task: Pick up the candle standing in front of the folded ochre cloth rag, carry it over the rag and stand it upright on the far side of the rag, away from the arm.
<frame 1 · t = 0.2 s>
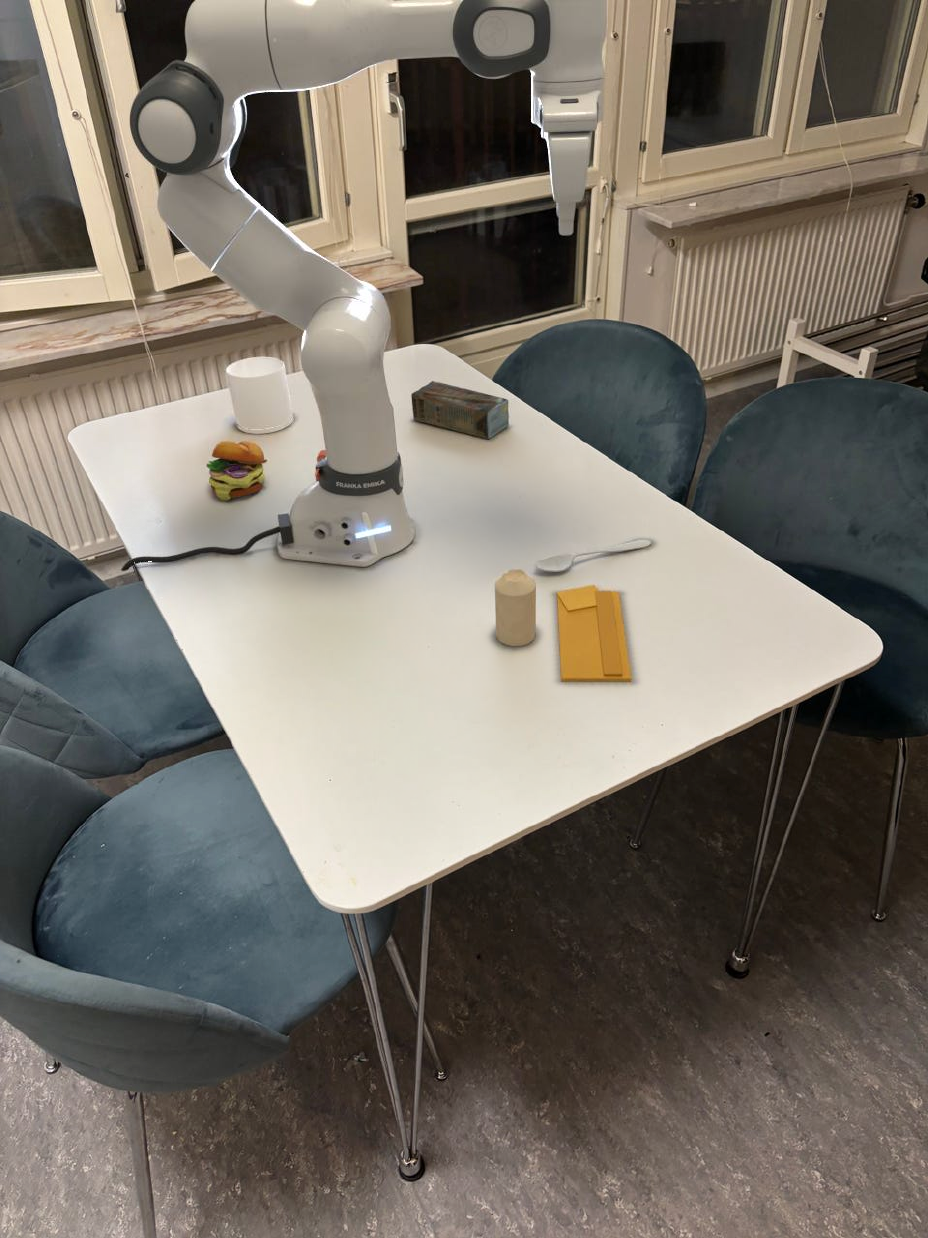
hand: (564, 224, 120), 48 cm above the table, tool pointing down, fingers open, 8 cm apart
cup: (265, 423, 190), on the table
beverage carton: (460, 424, 185), on the table
spoon: (593, 558, 142), on the table
cheeseburger: (239, 488, 166), on the table
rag: (591, 634, 126), on the table
candle: (515, 636, 127), on the table
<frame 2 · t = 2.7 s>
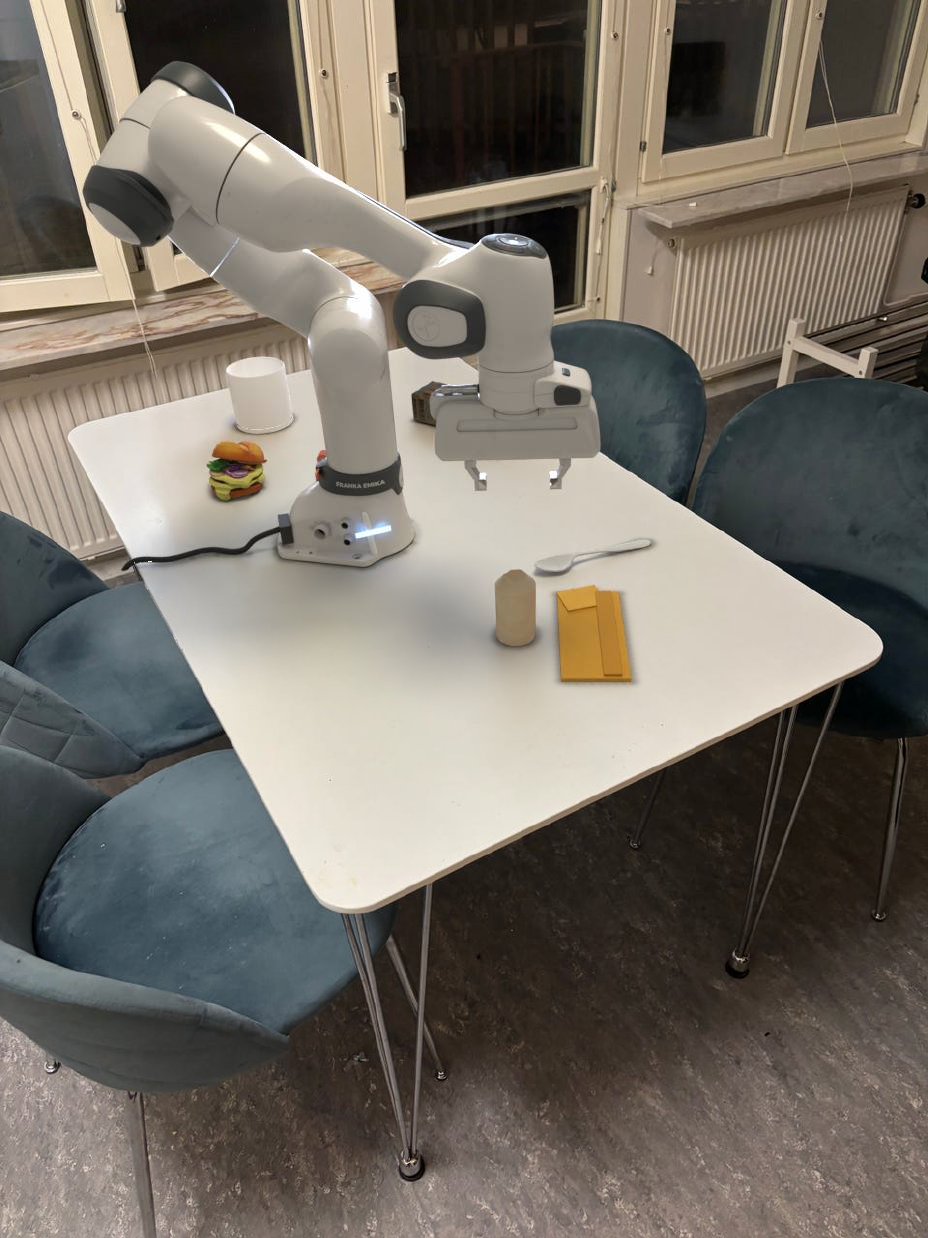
hand: (518, 488, 115), 22 cm above the table, tool pointing down, fingers open, 8 cm apart
nothing on the table moved.
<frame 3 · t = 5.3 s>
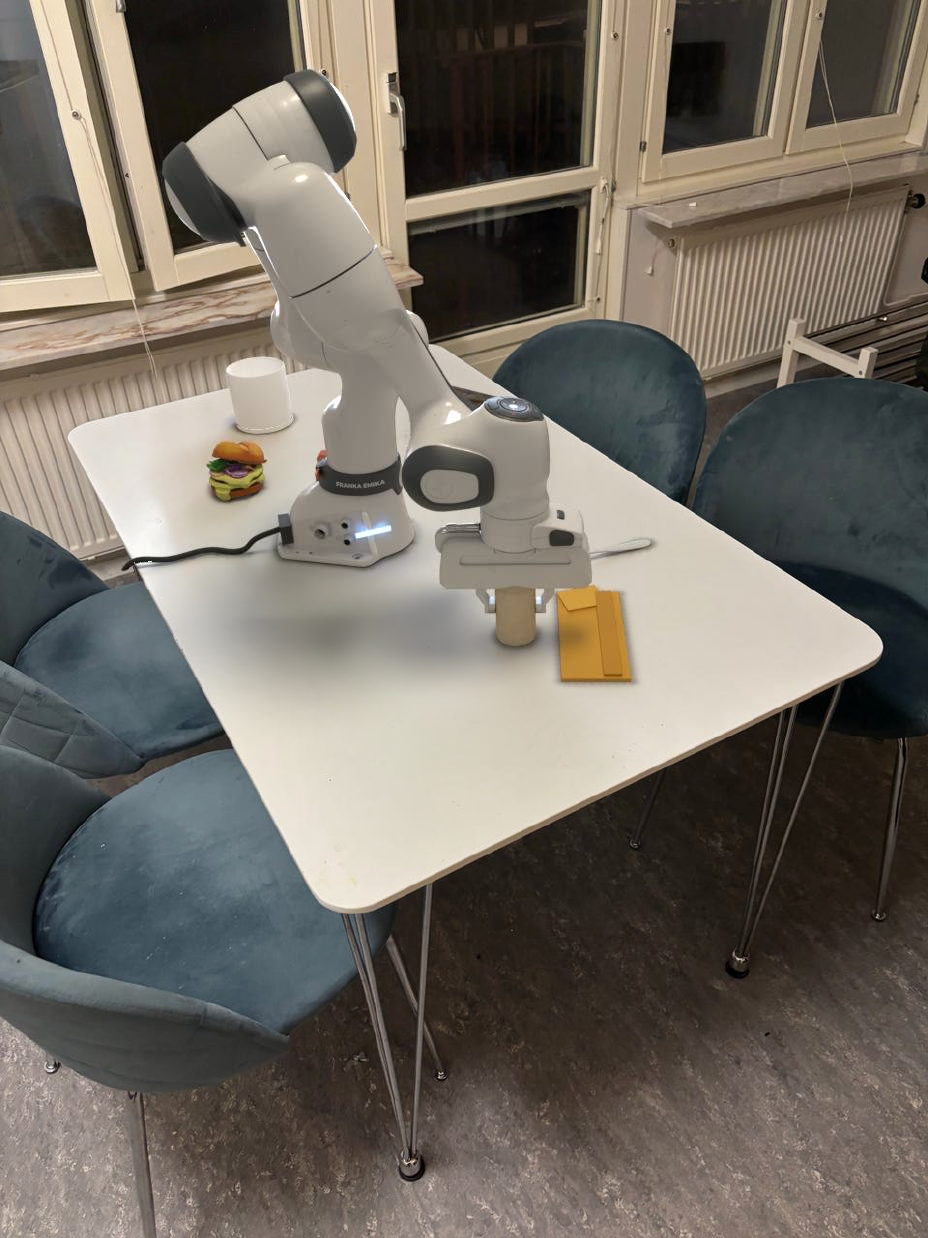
hand: (515, 611, 124), 4 cm above the table, tool pointing down, fingers closed on candle, 5 cm apart
candle: (515, 635, 127), on the table, touching gripper
everything else where it was.
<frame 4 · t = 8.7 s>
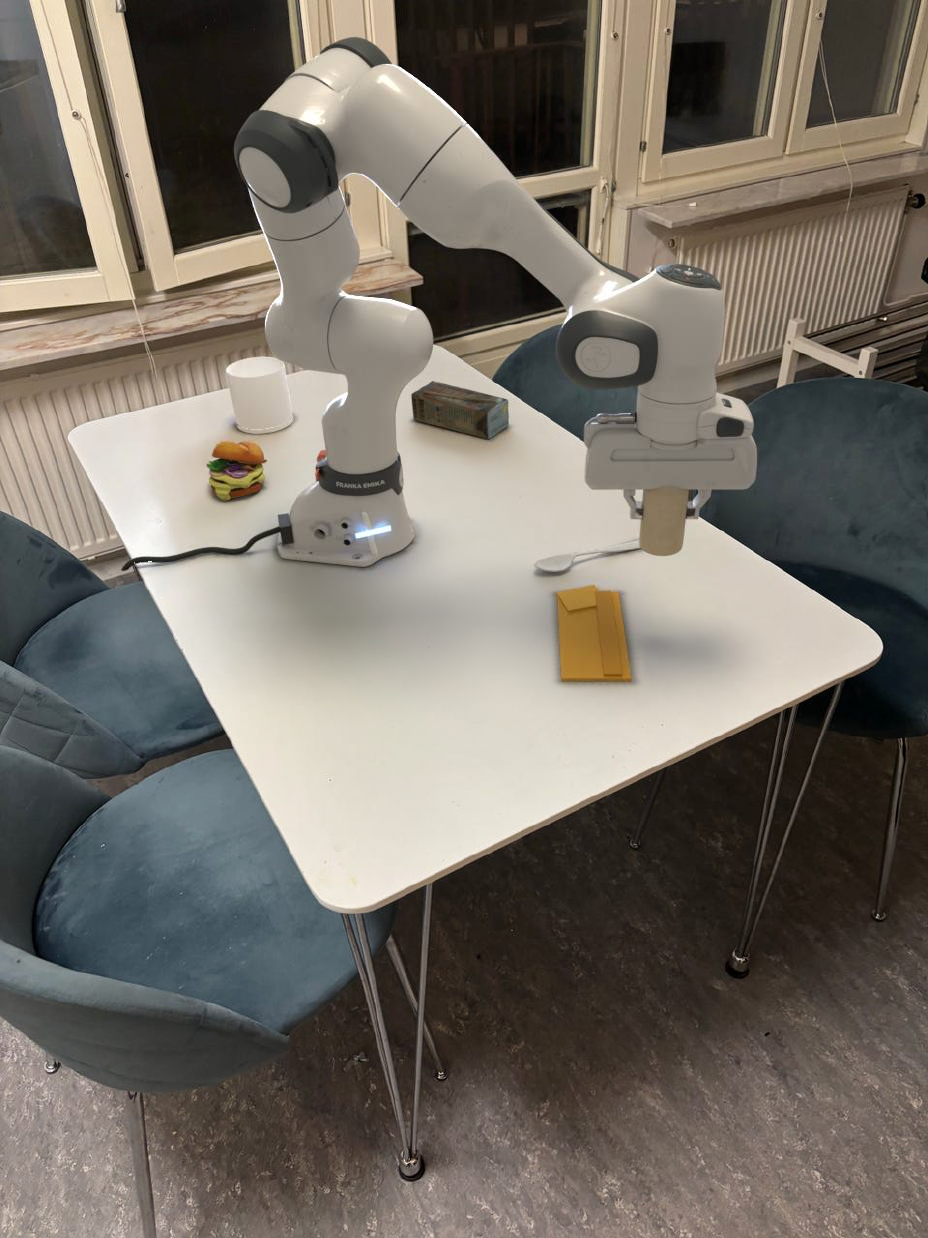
hand: (663, 517, 113), 19 cm above the table, tool pointing down, fingers closed on candle, 5 cm apart
candle: (660, 546, 116), point 15 cm above the table, touching gripper
everything else where it was.
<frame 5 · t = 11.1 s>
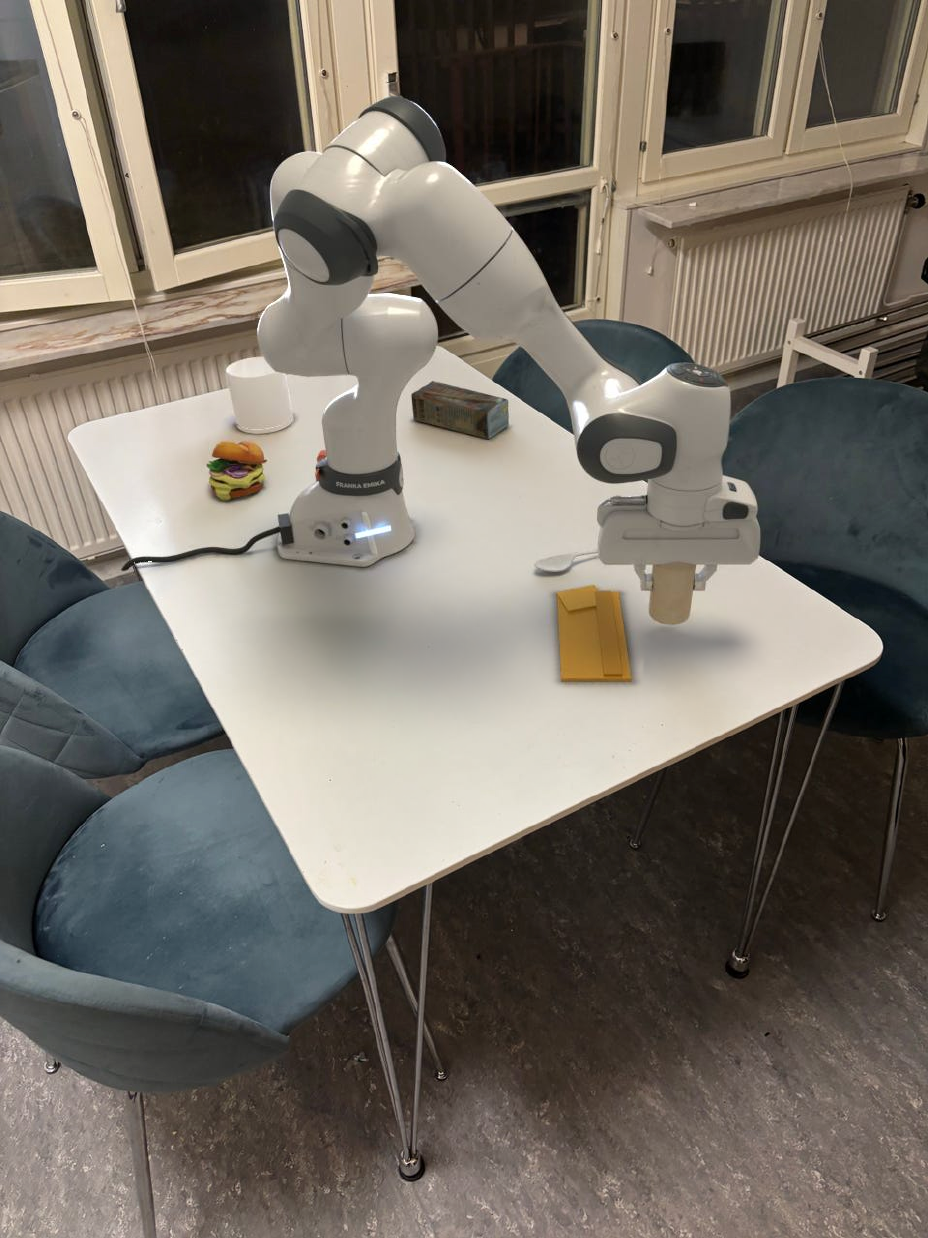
hand: (672, 588, 120), 8 cm above the table, tool pointing down, fingers closed on candle, 5 cm apart
candle: (668, 614, 123), point 4 cm above the table, touching gripper
everything else where it was.
when the fingers open (4 cm above the table, at t = 12.6 s): candle stays where it is, on the table.
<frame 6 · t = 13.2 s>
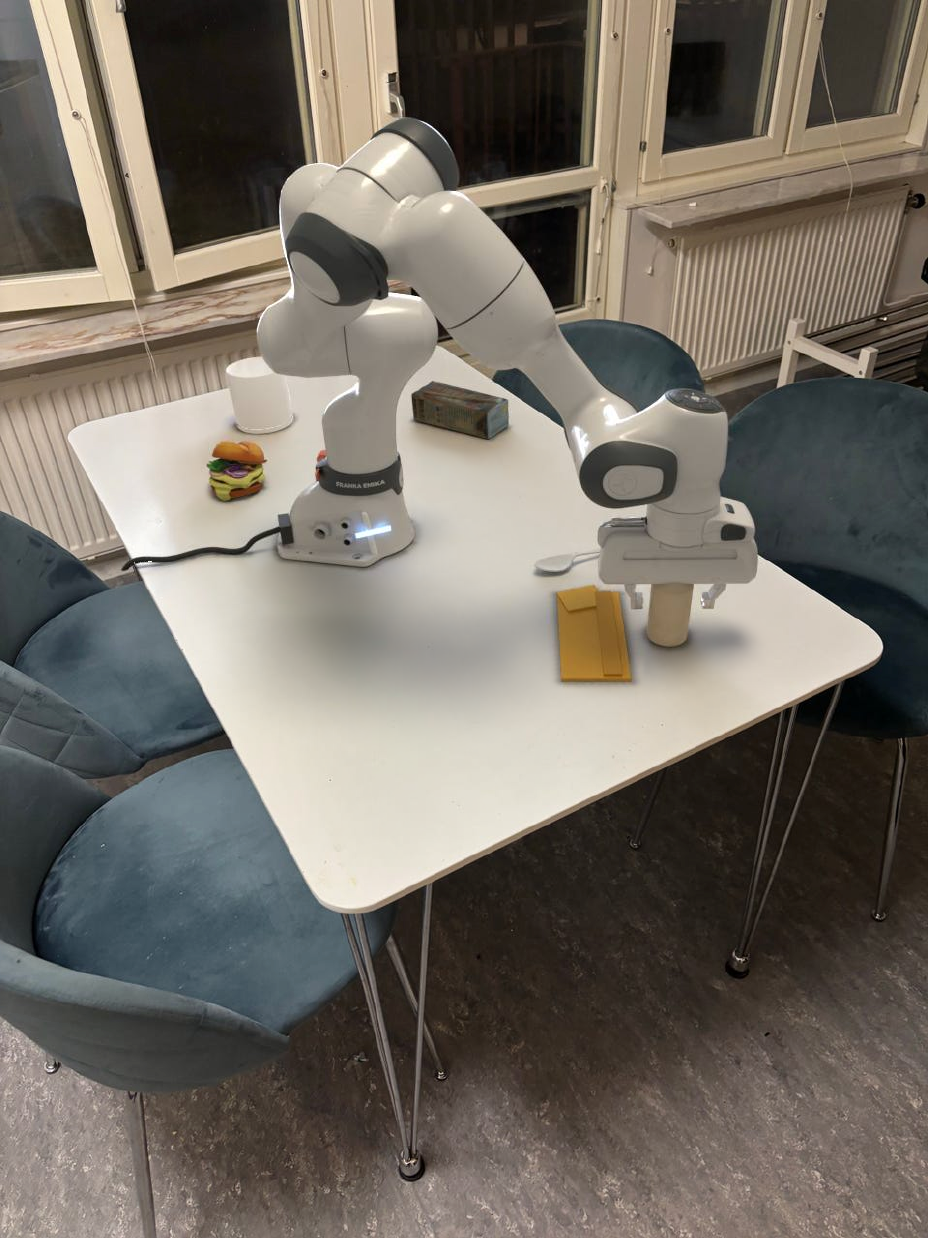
hand: (671, 606, 122), 5 cm above the table, tool pointing down, fingers open, 8 cm apart
candle: (666, 636, 125), on the table
everything else where it was.
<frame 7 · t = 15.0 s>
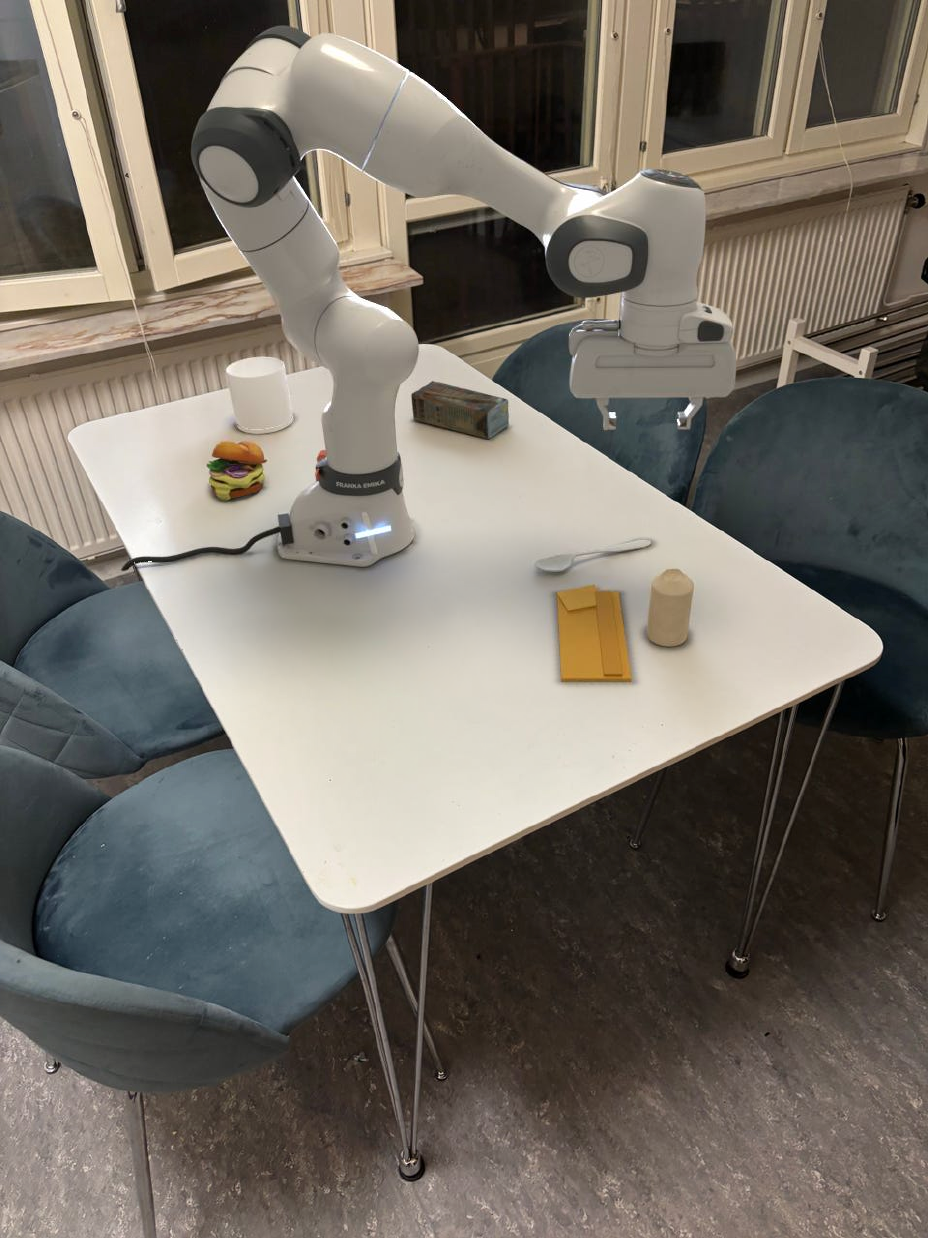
hand: (646, 427, 117), 27 cm above the table, tool pointing down, fingers open, 8 cm apart
nothing on the table moved.
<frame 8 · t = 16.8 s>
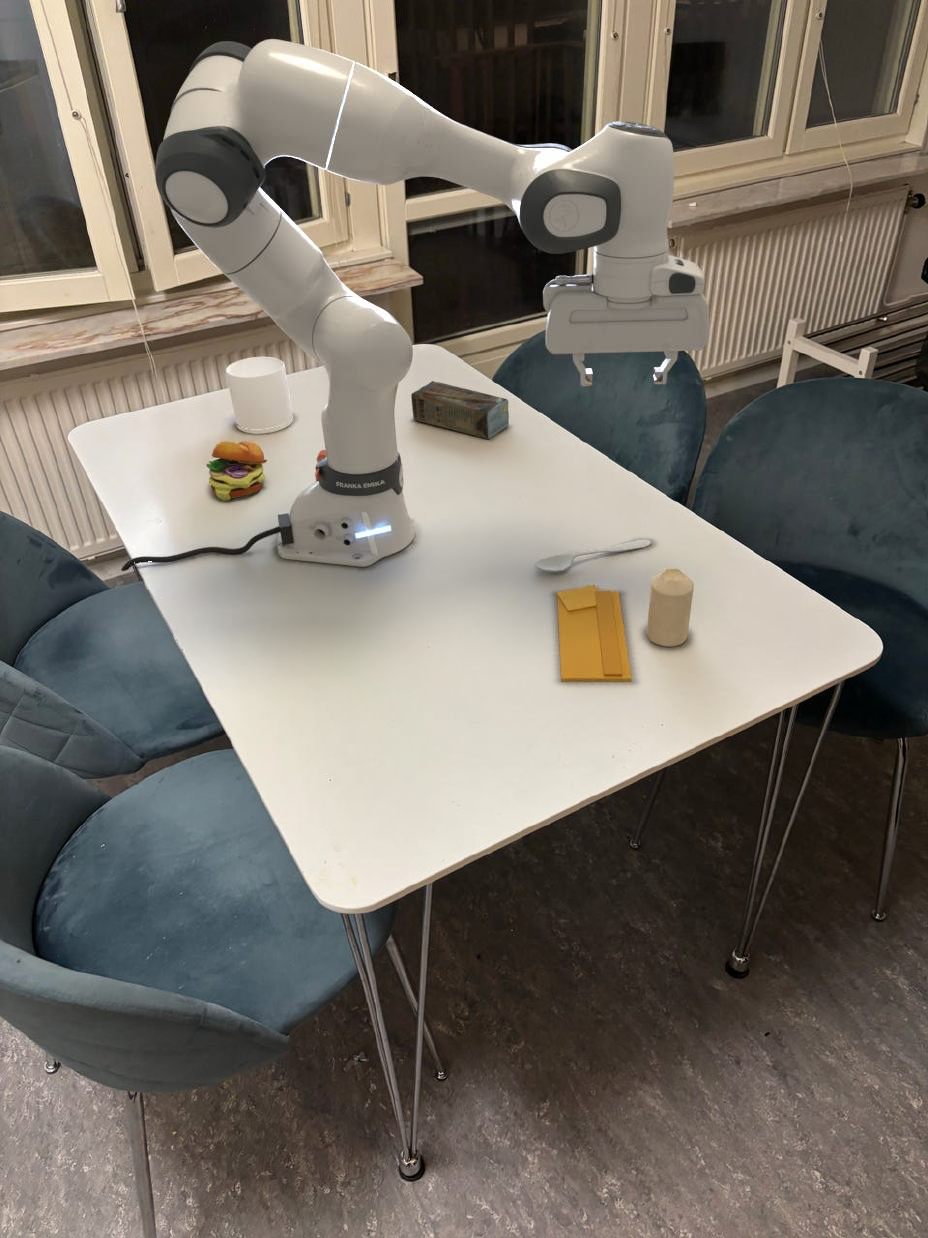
hand: (622, 383, 118), 31 cm above the table, tool pointing down, fingers open, 8 cm apart
nothing on the table moved.
at the end: candle inside the target area (1.0 cm from its centre), on the table; candle tilted 0°; the gripper is holding nothing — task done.
